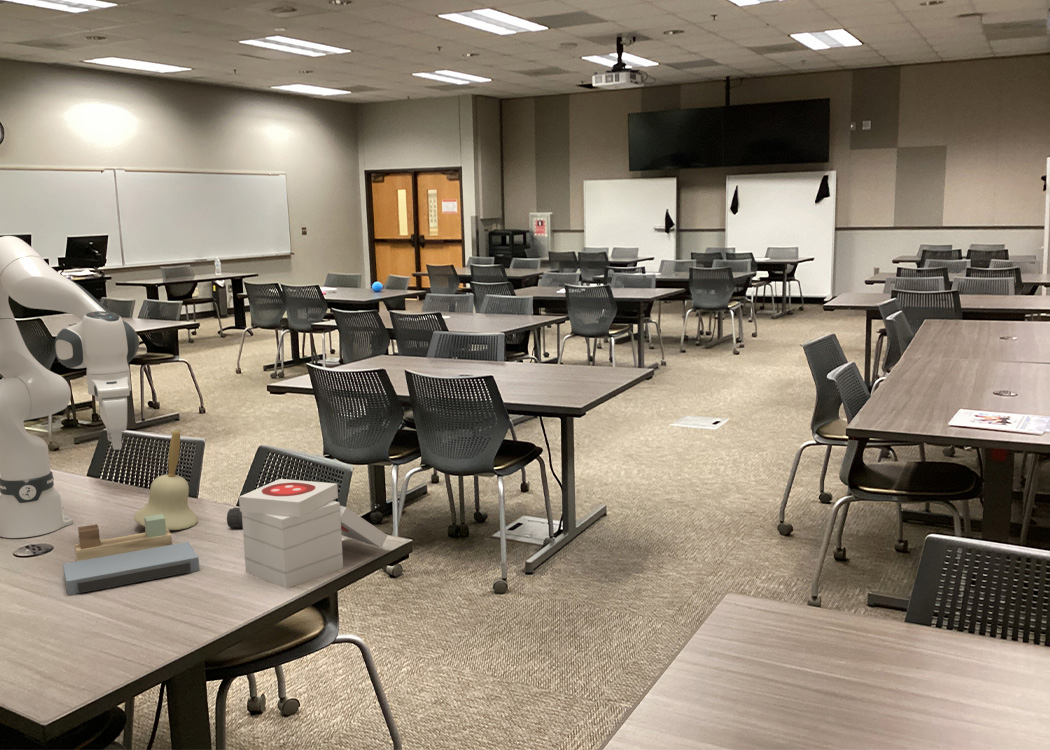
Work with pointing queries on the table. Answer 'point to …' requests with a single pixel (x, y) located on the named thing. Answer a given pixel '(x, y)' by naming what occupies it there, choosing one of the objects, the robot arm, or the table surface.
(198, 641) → the table surface
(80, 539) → the block
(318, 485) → the pizza boxes
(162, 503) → the handbell
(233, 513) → the flashlight
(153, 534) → the block
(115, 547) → the pallet
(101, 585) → the dock
